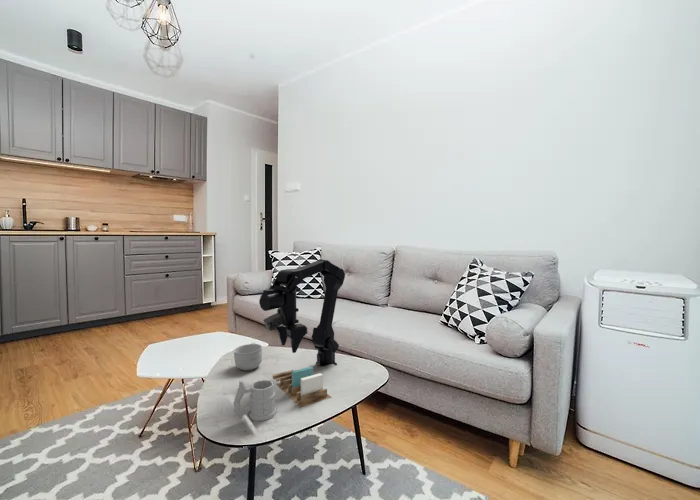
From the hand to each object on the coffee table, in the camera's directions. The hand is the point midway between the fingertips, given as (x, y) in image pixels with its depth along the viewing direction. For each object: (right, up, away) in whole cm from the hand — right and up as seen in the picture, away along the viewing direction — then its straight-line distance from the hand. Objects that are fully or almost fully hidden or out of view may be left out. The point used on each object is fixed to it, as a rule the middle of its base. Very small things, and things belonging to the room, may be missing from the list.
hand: (288, 348), depth 121 cm
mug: (-5, -14, -23) cm, 28 cm away
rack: (+6, -13, -8) cm, 16 cm away
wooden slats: (-2, -12, +3) cm, 12 cm away
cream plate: (+10, -12, -14) cm, 21 cm away
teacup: (-18, -11, +15) cm, 26 cm away
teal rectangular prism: (+6, -11, -8) cm, 15 cm away
